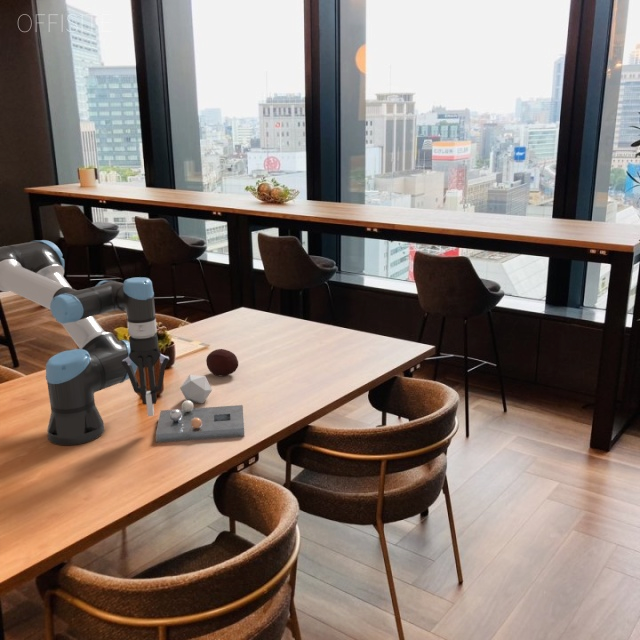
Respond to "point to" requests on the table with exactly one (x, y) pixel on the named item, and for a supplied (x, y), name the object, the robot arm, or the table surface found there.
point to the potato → (222, 362)
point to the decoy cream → (187, 406)
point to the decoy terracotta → (196, 423)
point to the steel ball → (175, 415)
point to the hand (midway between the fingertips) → (150, 414)
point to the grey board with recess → (213, 424)
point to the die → (196, 389)
